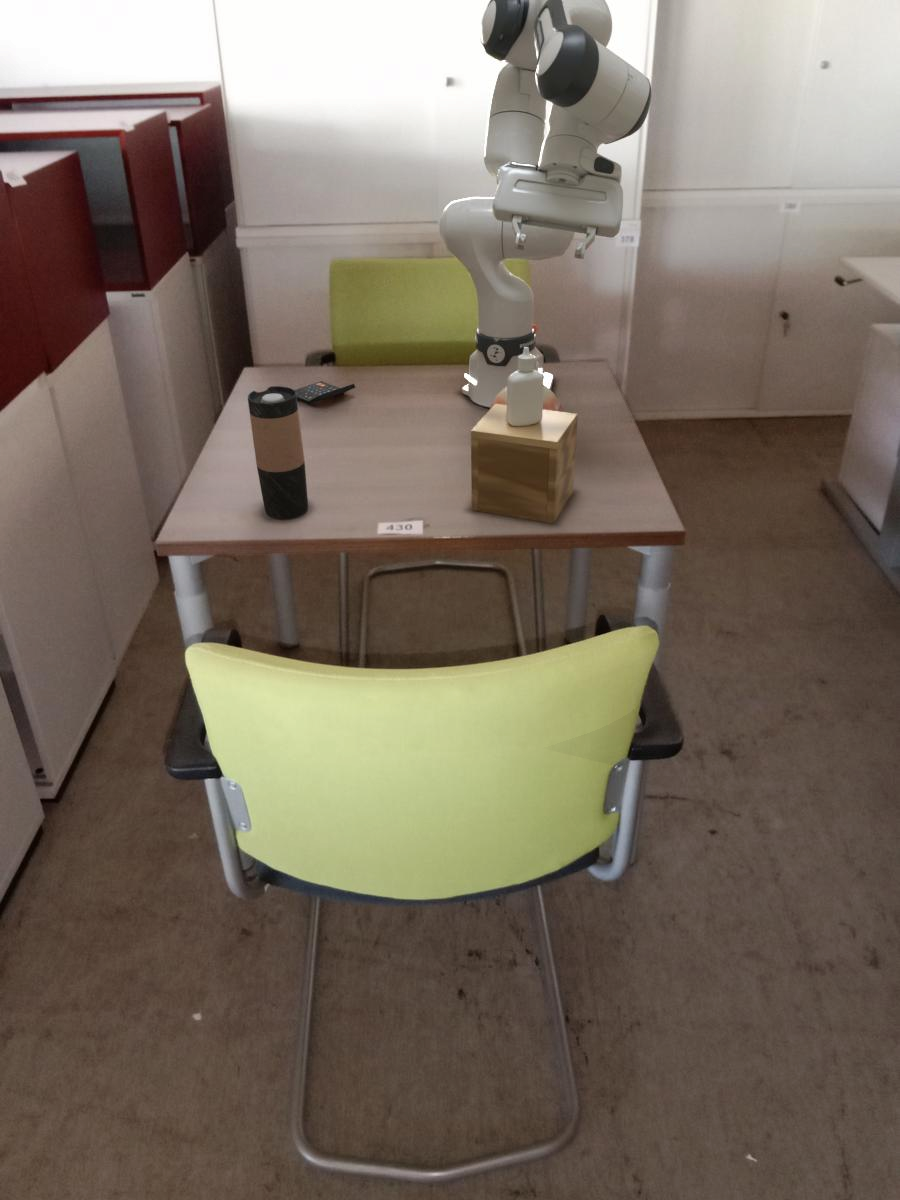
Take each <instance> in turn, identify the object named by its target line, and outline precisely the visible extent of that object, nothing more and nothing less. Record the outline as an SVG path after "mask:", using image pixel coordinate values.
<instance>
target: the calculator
mask: <svg viewBox="0 0 900 1200" xmlns="http://www.w3.org/2000/svg"><path fill="white" fill-rule="evenodd" d="M353 389H356V385H355V383H352V384H349V385H346V386H343V387H339V386H336V385H333V384H330V383H327V382H325V381H322V380H320V381H317V382H314V383H312V384H308V385H306V386H304V387H300V388H297V389H293V390H294V391H295V392H296V396H297V402H300V403H303V404H306V405H308V406H311V405H313V404H316V403H318V402H322V401H325V400H328V399H331V398H333V397H336V396H339V395H342V394H345V393H347V392H349V391H351V390H353Z"/></svg>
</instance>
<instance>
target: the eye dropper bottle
mask: <svg viewBox="0 0 900 1200" xmlns="http://www.w3.org/2000/svg"><path fill="white" fill-rule="evenodd" d="M533 369H534V356H533V355H531V354H530V353H529V347H524V350H523V354H521V355H519V356H518V370H517V371H516V372H514V373H512V374H511V375H510V376H509V377H508V380H507V422H508V423H509V424H510V425H512V426H528V425H532V424H536V423H538V422H540V421H541V420H542V415H543V384H544V379H543V375H542V374H541V373H540V372H539V371H537V370H533Z"/></svg>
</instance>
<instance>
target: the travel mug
mask: <svg viewBox="0 0 900 1200" xmlns="http://www.w3.org/2000/svg"><path fill="white" fill-rule="evenodd" d="M294 390H295V389H293V388H291V387H287V386H281V385H280V386H279V385H275V386H274V385H273V386H269V387H268V388H267V389H266V390H263V391H256V390H252V391H251V392H250V393H248V395H247V404H248V411H249V417H250V418H249V419H250V426H251V433H252V434H251V435H252V441H253V448H254V456H255V463H256V468H257V475H258V481H259V485H260V492H261V496H262V503H263V509H264V513H265V515H266V516H267V517H268V518H270V519H274V520H278V521H279V520H280V521H287V520H292V519H298V518H300V517H301V516H304V515H305V514H306V513H307V512H308V510H309V500H308V499H309V498H308V487H307V486H308V485H307V474H306V461H305V453H304V452H305V451H304V446H303V445H304V444H303V435H302V427H301V421H300V414H299V413H300V412H299V405H298V404H299V403H298V401H297V396H296V392H295V391H294Z"/></svg>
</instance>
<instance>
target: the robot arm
mask: <svg viewBox="0 0 900 1200" xmlns="http://www.w3.org/2000/svg"><path fill="white" fill-rule="evenodd" d="M611 13H612V12H611V10H610V8H609V5H608V3H607V1H606V0H489V2H488V4H487V6H486V9H485V11H484V13H483V16H482V19H481V23H480V44H481V47H482V49H483V52H484V53H485V54H486V55H488V56H489V57H490V58H492V59H494V60H496V61H498V62H505V63H506V64H505V65H503V66H502V67H501V68H500V69H499V71H498V72H497V74H496V76H495V80H494V83H493V87H492V91H491V95H490V101H489V106H488V111H487V112H488V113H487V120H486V121H487V123H486V130H485V132H486V133H485V142H484V151H483V152H484V154H483V162H484V166H485V169H486V170H487V172H488V174H490V176H492V177H493V178H494V179H495V180H496V184H497V188H496V191H495V193H494V196H493V197H492V196H490V197H487V196H486V197H485V196H484V197H482V196H481V197H480V196H471V197H467V198H461V199H458V200H453V201H450V203H448V204H447V205H446V207H444V210H443V212H442V214H441V217H440V221H439V237H440V238H441V242H442V244H443V247H444V249H446V250H447V252H448V253H449V255H452V256H453V257H454V258H455V259H456V260H458V261H459V262H460V264H461V265H462V266H463V267H464V269H465V270H466V272H467V273H468V276H469V277H470V279H471V281H472V284H473V286H474V287H473V288H474V290H475V291H474V292H475V296H476V307H477V328H476V331H475V336H474V337H475V338H474V340H475V349H476V350H475V351H474V352H472V354H470V356H469V364H468V374H467V373H464V378H465V379H466V380H467V381H468V383H467V384H466V385H464V386H462V388H461V393H462V394H463V395H465V396H467V397H469V398H470V400H471V401H472V402H473V403H475V404H477V405H479V406H481V407H484V408H485V407H486V408H490V407H491V404H492V402H493V400H494V399H495V397H496V396H497V394H498V393H499V392H500V391H501V390H502V389H503V388H505V387H506V386H507V380H508V377H509V376H510V375H511V374H512V373H514V372H516V371H517V370H518V356H519V355H521V354H523V350H524V347H529V353H530V354H532V355H535V357H536V370H537V371H539V372H540V373H541V374H542V375H543V379H544V385H545V386H547V387H548V388H549V389H550V390H551V391H552V387H553V385H554V374H552V373H549V372H547V371H544V364H545V363H544V359H545V358H544V354H543V353H542V352H541V351H540V350H539V349H538V348H537V342H536V339H537V336H536V335H537V333H538V324H536V323H534V293H533V292H534V291H533V290H532V288H531V287H530V285H529V284H528V283H527V282H526V281H525V280H523V279H522V278H520V277H519V276H517V275H515V274H513V273H511V272H510V271H509V270H508V268H507V266H506V265H505V262H504V261H506V260H510V261H511V260H512V261H513V260H516V261H544V260H549V259H554V258H559V257H563V255H565V254H566V253H567V252H568V250H569V249H570V247H571V245H572V243H573V241H574V238H575V233H578V234H583V235H584V234H586V235H585V239H584V240H583V241H582V243H581V242H576V246H575V250H574V259H579V260H584V258H585V255H586V254H585V253H586V251H587V249H589V248H590V246H591V245H593V243H594V242H595V240H596V236H598V237H604V238H610V239H611V238H615V236H617V235H618V234H619V233H620V229H621V225H622V219H623V209H624V190H623V186H622V185H621V182H622V172H623V171H622V166H621V164H619V163H618V162H616V161H613V160H612V159H609V158H608V157H605V156H603V155H601V154H600V153H598V149H599V148H600V146H601V145H602V144H604V145H609V144H613V143H615V142H618V141H620V140H623V139H625V138H627V137H630V136H632V135H634V134H635V133H636V132H637V131H639V130H640V129H641V128H642V126H643V124H644V123H645V121H646V120H647V117H648V114H649V111H650V110H649V109H650V107H651V101H652V85H651V82H650V79H649V78H648V77H647V76H646V75H645V74H644V73H642V71H639V70H638V69H637V68H636V67H634V66H632V65H631V64H630V63H629V62H627V61H626V60H624V59H623V58H622V57H620V56H619V55H617V54H616V53H614V52H613V51H612V50H611V49H609V48H608V45H609V43H610V40H611V38H612V33H613V17H612V14H611ZM547 102H550V106H549V110H548V115H547ZM546 119H547V120H546ZM546 130H547V133H546V135H545V132H546Z"/></svg>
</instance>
